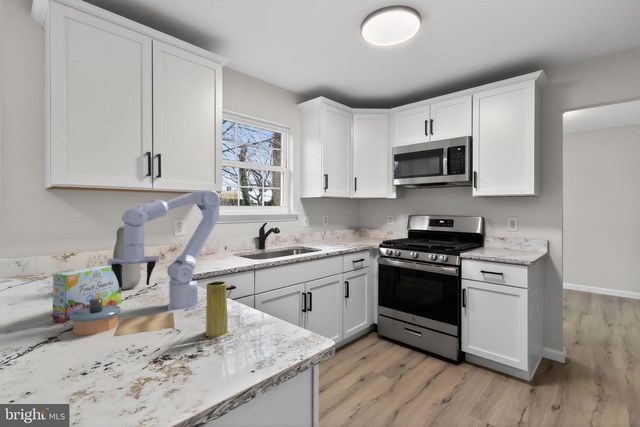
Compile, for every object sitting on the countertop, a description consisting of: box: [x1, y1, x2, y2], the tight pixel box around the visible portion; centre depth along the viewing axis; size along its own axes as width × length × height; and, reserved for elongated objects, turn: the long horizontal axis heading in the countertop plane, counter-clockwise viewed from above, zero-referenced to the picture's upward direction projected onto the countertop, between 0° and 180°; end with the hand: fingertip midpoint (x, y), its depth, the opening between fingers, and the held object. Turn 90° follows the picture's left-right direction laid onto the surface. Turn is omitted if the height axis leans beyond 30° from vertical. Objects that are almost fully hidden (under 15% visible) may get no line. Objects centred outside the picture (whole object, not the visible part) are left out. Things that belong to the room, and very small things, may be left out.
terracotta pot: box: [72, 314, 118, 336], centre depth 91 cm, size 10×10×4 cm
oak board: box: [113, 311, 175, 337], centre depth 95 cm, size 15×15×1 cm
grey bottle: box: [112, 226, 142, 290], centre depth 138 cm, size 10×10×28 cm
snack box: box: [52, 263, 122, 323], centre depth 107 cm, size 21×6×15 cm, turn 168°
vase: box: [204, 280, 229, 338], centre depth 87 cm, size 6×6×14 cm
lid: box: [70, 298, 121, 322], centre depth 91 cm, size 12×12×4 cm
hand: (134, 285), depth 103 cm, fingers open, 7 cm apart
